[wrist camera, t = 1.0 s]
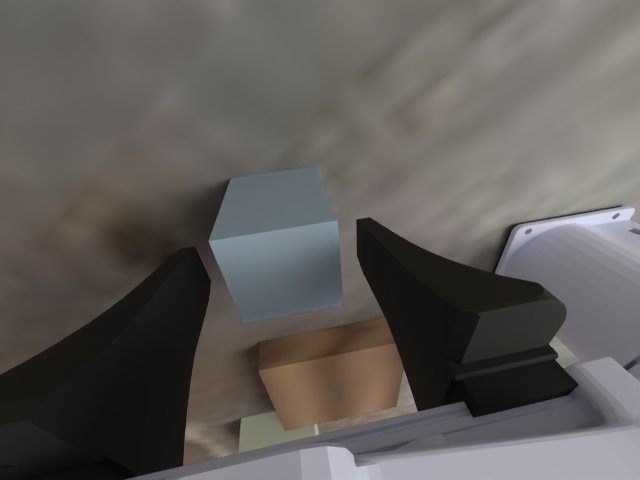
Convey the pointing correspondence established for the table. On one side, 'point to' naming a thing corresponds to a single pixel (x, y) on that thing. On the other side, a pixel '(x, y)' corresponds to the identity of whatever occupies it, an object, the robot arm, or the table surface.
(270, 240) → the slate block
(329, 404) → the walnut block
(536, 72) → the table surface
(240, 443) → the sage block
